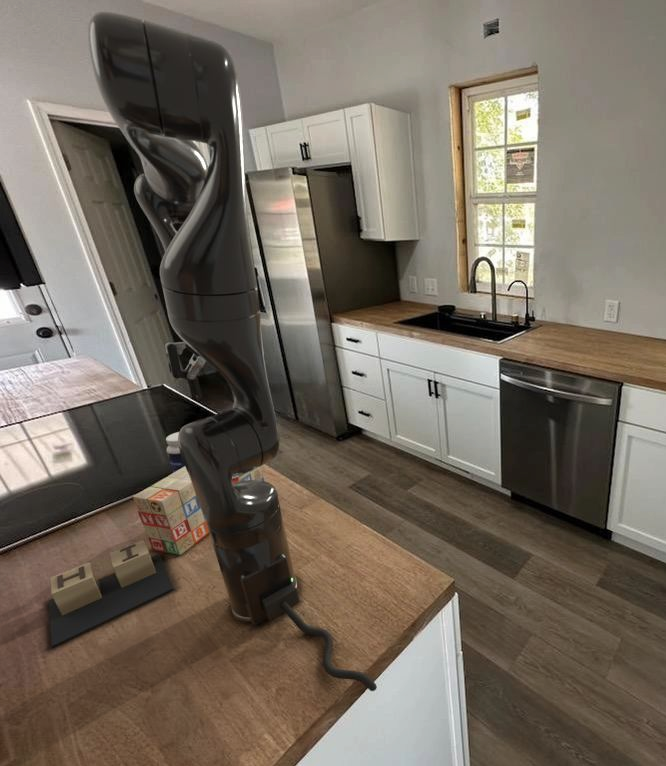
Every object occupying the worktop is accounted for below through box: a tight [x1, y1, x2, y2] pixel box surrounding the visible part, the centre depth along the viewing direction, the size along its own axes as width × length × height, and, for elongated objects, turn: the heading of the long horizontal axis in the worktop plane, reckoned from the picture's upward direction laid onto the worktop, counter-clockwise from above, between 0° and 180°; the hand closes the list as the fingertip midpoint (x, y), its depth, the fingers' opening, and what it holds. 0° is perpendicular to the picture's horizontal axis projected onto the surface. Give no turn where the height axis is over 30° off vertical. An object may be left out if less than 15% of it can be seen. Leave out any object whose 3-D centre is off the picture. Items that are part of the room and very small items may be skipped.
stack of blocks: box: [132, 466, 265, 556], centre depth 83 cm, size 21×6×12 cm, turn 168°
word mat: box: [48, 553, 175, 649], centre depth 67 cm, size 11×14×1 cm
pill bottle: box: [165, 431, 185, 473], centre depth 98 cm, size 6×6×10 cm
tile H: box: [49, 561, 102, 616], centre depth 65 cm, size 4×4×5 cm
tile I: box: [109, 539, 156, 588], centre depth 70 cm, size 4×4×5 cm
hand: (226, 390), depth 77 cm, fingers open, 8 cm apart
